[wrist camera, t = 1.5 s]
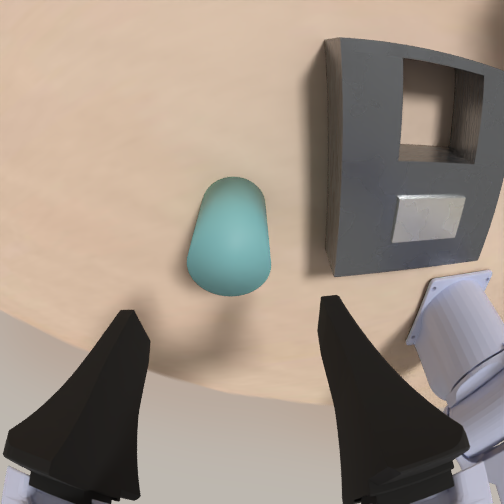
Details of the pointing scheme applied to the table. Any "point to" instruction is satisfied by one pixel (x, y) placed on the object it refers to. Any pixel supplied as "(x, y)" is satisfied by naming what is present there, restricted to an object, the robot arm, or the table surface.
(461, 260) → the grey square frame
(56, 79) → the table surface
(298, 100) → the table surface
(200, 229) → the barrel peg
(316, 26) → the table surface
